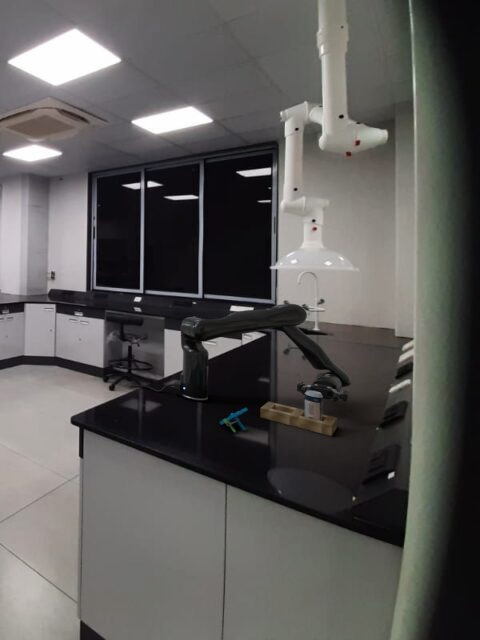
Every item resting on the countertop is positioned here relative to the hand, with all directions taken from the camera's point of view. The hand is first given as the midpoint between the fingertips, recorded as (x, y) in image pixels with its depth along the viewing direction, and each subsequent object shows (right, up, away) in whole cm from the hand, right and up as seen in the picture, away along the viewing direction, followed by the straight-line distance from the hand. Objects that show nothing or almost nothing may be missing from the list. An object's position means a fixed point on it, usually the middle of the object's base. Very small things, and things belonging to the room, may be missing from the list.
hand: (318, 395), depth 146 cm
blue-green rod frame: (-38, -8, -10) cm, 40 cm away
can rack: (-10, -9, -3) cm, 14 cm away
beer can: (-8, -9, -6) cm, 13 cm away
